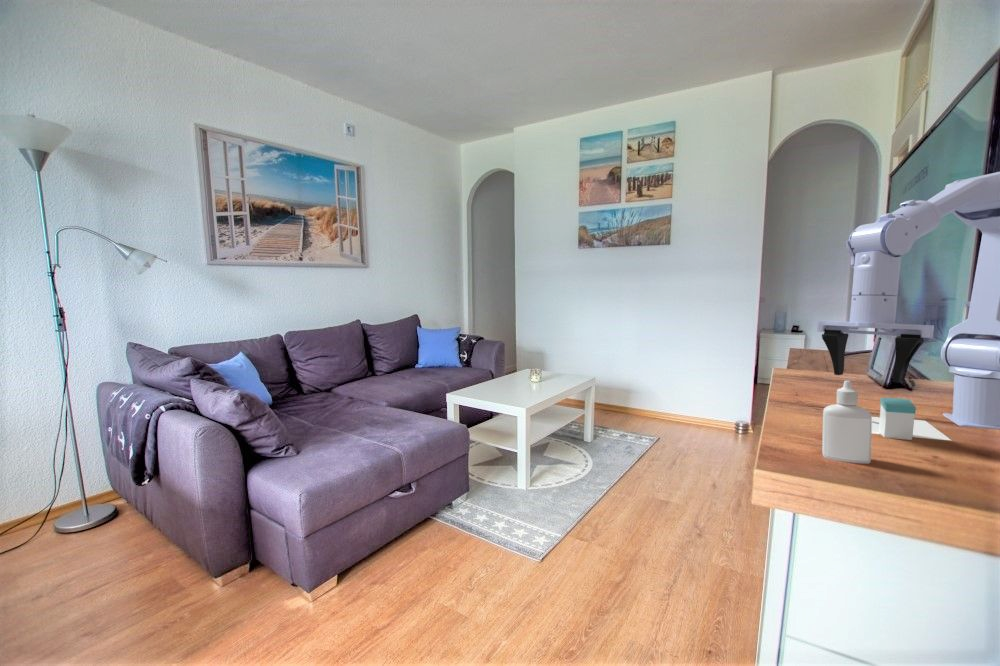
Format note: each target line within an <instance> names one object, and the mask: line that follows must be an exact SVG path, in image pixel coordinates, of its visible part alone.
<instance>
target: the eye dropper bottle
mask: <svg viewBox="0 0 1000 666" xmlns="http://www.w3.org/2000/svg"><path fill="white" fill-rule="evenodd" d="M858 396H859V392H858V390H856V389H854V388H853V386H852V382H851V381H850V380H844V381H843V386H842V387H841V388H837V390H836V404H829V405H827V406H825V407H824V408H823V411H822V445H821V446H822V447H821V450H822V451H821V453H822V456H823V458H825V459H829V460H833V461H838V462H844V463H851V464H868V465H869V464H870V463H871V461H872V417H873V416H872V414H871V412H870V411H869V410H868V409H867V408H864V407H862V406H859V405H858V401H859V400H858V399H859V397H858Z"/></svg>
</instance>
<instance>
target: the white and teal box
mask: <svg viewBox="0 0 1000 666" xmlns="http://www.w3.org/2000/svg"><path fill="white" fill-rule="evenodd" d="M879 411H880V412H879V417H880V421H879V431H880V433H881V434H880V435H881V436H882V437H883V438H886V439H899V440H909V441H912V440H913V438H914V437H913V427H914V420H915V417H916V411H917V407H916V406H915V405H914V404H913V403H912V400H910V399H909V398H897V397H895V398H894V397H893V398H892V397H880V409H879Z"/></svg>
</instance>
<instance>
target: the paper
mask: <svg viewBox="0 0 1000 666" xmlns="http://www.w3.org/2000/svg"><path fill="white" fill-rule="evenodd" d="M871 417H872V433H871V435H873V434H874V435H882V434H881V433H880V431H879V421H880V416H871ZM912 438H917V439H918V438H919V439H929V440H939V441H941V440H942V441H953V440H952V439H951V438H949V437H948V436H947V435H945V434H944V433H943V432H941V431H939V429H937V428H935V427H934V426H933V425H932V424H930V423H929V422H927V421H926V420H921V419H914V427H913V437H912Z"/></svg>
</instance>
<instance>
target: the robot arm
mask: <svg viewBox="0 0 1000 666" xmlns="http://www.w3.org/2000/svg"><path fill="white" fill-rule="evenodd" d="M899 207H900V208H897V209H896V210H894V211H892V212H890V213H884V214H881V215H880V216H879V218H878V219H877V220H876V221H875V222H873V223H872V222H871V223H866V224H861V225H859V226H857V227H856V228H855V229H854V230H852V232H851V234H849V238H848V239H847V240H846V242H845V243H846V245H845V246H846V248H847V249H846V250H847V252H848V254H849V256H850V266H851V268H852V269H853V277H852V289H851V298H850V299H851V301H850V313H849V321H839V320H837V321H836V320H817V323H816V324H817V326H816V332H821V333H822V334H821V339H822V341H823V343H824V344H825V346H826V347H827V350H828V352H829V356H830V359H831V362H832V363H831V364H832V367H833V375H835V376H842V375H844V371H845V354H846V349H847V347H846V346H847V343H848V339H849V334H857V335H858V334H861V335H875V336H876V335H877V336H879V335H880V336H896V337H894V341H895V342H894V343H895V345H894V346H895V361H894V367H893V373H892V382H893V383H898V384H899V383H902V382H903V378H904V376H905V372H906V370H907V368H908V366H909V363H910V362H911V360H912V358H913V357H914V356H915V354H916V353H917V351H918V350H919V349H920V347H922V345H923V344H924V342H925V339H924V338H926V339H933V338H934V331H935V325H933V324H931V325H930V324H913V323H912V324H911V323H909V324H908V323H896V315H897V307H898V295H899V284H900V283H899V282H900V272H901V261H902V256H903V255H905V254H908V253H909V252H910V250H911V249H912V247H913V244H914V242H915V241H917V240H919V239H920V238H922V237H923V236H925V235H927V234H929V233H931V232H933V231H934V230H936V229H937V228H938V227H939V226H940V225H941V222H942V218H943V217H946V216H947V215H949V214H953V215H954V217H956V218H957V219H959V220H960V221H961V222H962V223H964V224H965V225H966V226H967V227H970V228H974V229H978V230H979V231H980V232H981V241H980V245H979V250H978V257H977V263H976V269H975V275H974V279H973V286H972V291H971V296H970V302H969V308H968V313H967V314H968V315H967V319H965V320H964V321H961V322H960V323H958V324H956V325H954V326H952V327H951V328H949V329H948V335H947V338H945V339H946V340H945V342H944V343H943V344H942V346H941V348H940V349H941V350H940V358H941V361H942V363H943V365H944V366H945V367H946V368H948V371H949V373H951V374H952V373H953V375H954V376H953V394H952V395H953V398H952V399H953V400H952V413H946V412H943V413H942V416H944V417H945V418H947V419H948V420H950V421H951V422H953V423H954V424H956V425H958V426H959V427H965V428H966V427H967V428H980V429H992V430H1000V171H996V172H992V173H988V174H983V175H978V176H974V177H969V178H966V179H965V178H961V179H957V180H955V181H953V182H951V183H948V184H946V185H945V187H944V189H943V190H941V191H939V192H938V193H936V194H935V195H933V196H932V197H930V198H929V199H927V200H921V199H920V200H919V199H918V200H916V199H911V200H905V201H903V202H901V203H900V204H899ZM859 328H863V329H864V328H865V329H884V331H876V330H875V331H873V330H872V331H871V330H859ZM981 337H983V338H981ZM984 337H985V338H984ZM986 337H992V338H986Z"/></svg>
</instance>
